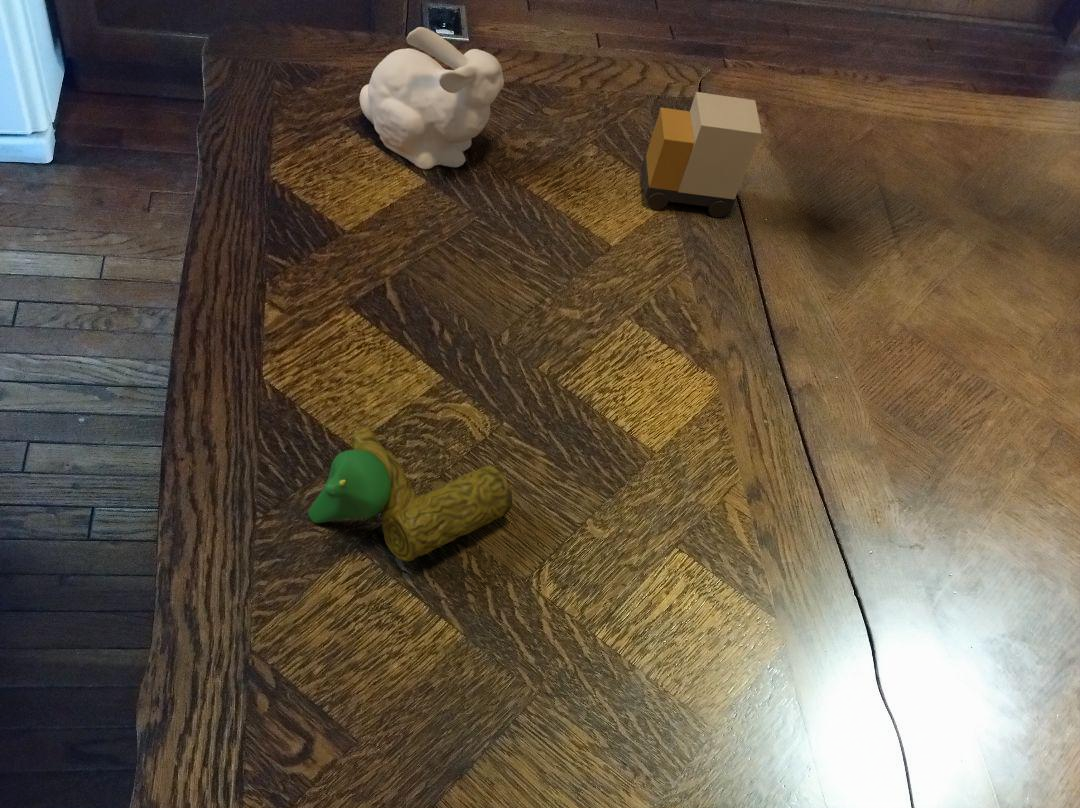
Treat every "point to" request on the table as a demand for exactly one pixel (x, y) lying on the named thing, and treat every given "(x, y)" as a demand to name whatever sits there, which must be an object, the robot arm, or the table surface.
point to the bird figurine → (408, 499)
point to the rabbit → (431, 99)
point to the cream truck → (701, 153)
